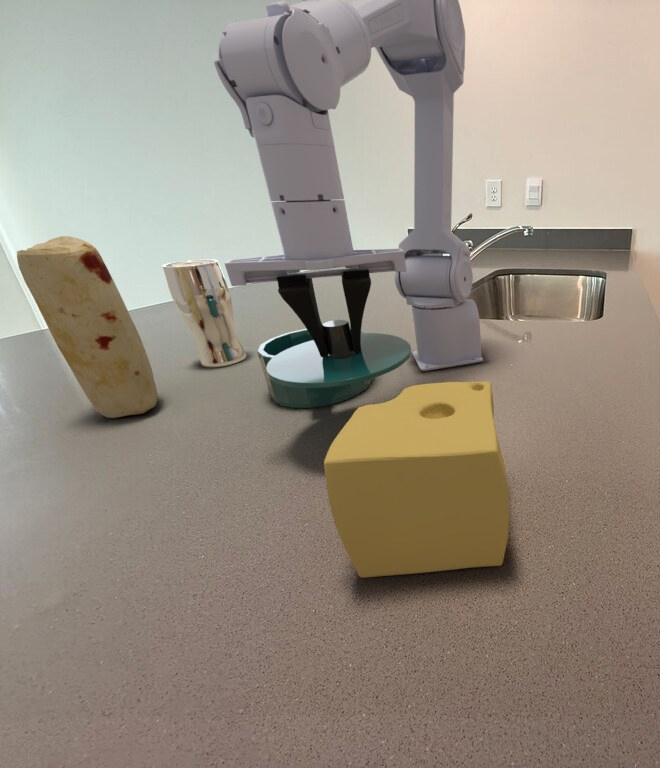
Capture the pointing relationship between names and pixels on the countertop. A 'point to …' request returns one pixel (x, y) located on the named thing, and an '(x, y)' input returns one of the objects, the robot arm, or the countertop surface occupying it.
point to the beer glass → (206, 309)
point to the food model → (90, 324)
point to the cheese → (421, 482)
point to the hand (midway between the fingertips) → (341, 351)
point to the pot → (302, 396)
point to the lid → (338, 359)
